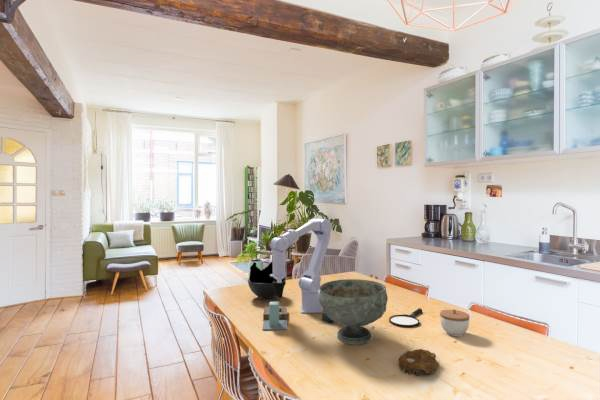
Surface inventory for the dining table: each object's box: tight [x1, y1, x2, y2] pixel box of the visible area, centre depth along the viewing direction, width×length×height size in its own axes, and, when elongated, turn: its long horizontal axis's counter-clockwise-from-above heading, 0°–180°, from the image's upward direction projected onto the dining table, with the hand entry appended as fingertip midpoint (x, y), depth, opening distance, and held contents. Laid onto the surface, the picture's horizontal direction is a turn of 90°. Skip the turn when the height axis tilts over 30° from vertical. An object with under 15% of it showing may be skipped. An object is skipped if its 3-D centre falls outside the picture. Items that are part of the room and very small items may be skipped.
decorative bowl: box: [319, 278, 389, 345], centre depth 136 cm, size 26×26×20 cm
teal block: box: [268, 301, 280, 326], centre depth 149 cm, size 4×4×9 cm
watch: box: [321, 312, 335, 324], centre depth 154 cm, size 6×8×11 cm
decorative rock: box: [397, 348, 440, 376], centre depth 113 cm, size 11×4×15 cm
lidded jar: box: [439, 309, 470, 337], centre depth 140 cm, size 11×11×9 cm
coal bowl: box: [247, 261, 287, 299], centre depth 189 cm, size 20×20×19 cm
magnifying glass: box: [388, 307, 423, 329], centre depth 157 cm, size 12×24×2 cm, turn 139°
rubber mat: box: [262, 319, 288, 331], centre depth 149 cm, size 10×10×1 cm
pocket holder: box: [262, 306, 288, 321], centre depth 161 cm, size 10×10×2 cm
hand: (279, 295), depth 157 cm, fingers open, 7 cm apart
